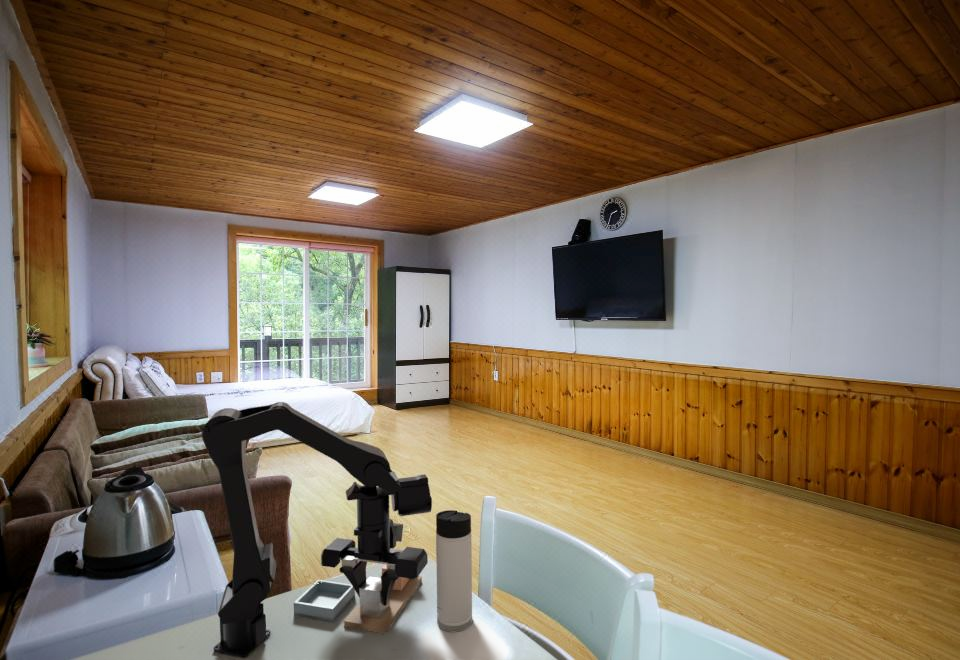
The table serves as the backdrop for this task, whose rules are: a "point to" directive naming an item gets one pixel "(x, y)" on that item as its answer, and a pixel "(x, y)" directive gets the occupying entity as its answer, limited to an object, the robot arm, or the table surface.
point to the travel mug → (454, 570)
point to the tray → (324, 601)
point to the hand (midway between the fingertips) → (375, 602)
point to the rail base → (396, 606)
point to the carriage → (372, 598)
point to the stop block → (399, 582)
